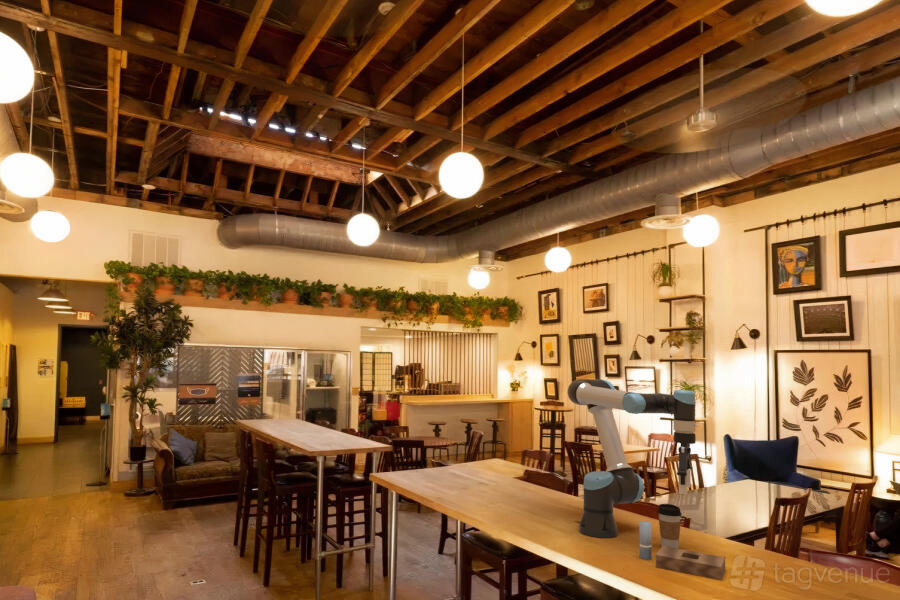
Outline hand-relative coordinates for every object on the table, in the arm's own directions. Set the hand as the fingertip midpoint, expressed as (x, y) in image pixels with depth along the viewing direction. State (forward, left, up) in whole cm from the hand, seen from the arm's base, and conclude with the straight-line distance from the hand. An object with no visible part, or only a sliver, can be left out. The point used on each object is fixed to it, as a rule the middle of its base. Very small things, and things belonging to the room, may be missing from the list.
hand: (684, 490), depth 208 cm
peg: (-11, -15, -22) cm, 29 cm away
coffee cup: (-6, +3, -22) cm, 23 cm away
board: (+4, -17, -22) cm, 28 cm away
